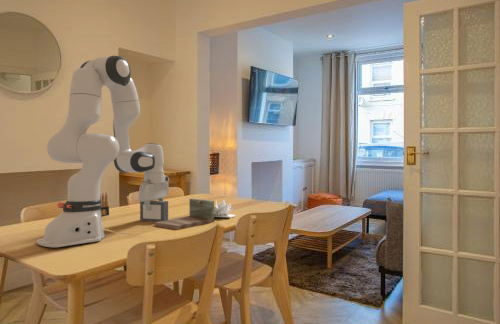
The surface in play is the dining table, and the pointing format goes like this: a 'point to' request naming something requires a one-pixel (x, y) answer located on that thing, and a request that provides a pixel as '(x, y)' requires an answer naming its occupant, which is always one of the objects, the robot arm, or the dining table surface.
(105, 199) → the ammunition clip
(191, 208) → the bookend
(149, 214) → the picture frame
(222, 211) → the lotus flower
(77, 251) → the dining table surface
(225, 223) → the dining table surface
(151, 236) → the dining table surface
